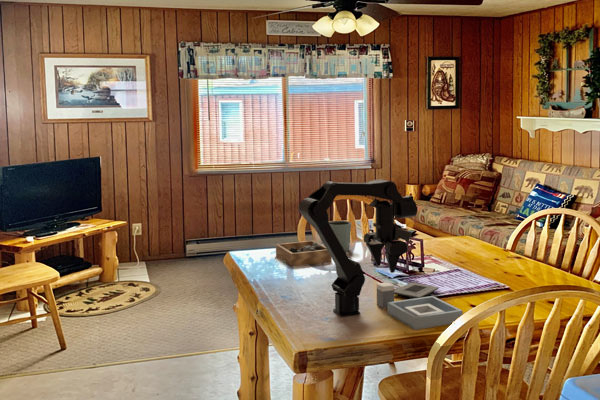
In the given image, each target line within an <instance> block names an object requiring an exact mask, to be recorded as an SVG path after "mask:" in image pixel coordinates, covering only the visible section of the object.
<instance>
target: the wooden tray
mask: <svg viewBox="0 0 600 400" xmlns="http://www.w3.org/2000/svg"><path fill="white" fill-rule="evenodd" d="M314 242H316V243H318V244H319V246H320V248H321V250H317V251H308V252H298V253H292V252H290V251H289V249H291V248H295V249H297V250H299V249H301V248H302V247H304V246H312V244H313V243H314ZM275 257H276V258H279V259H280V260H282V261H283V262H284V263H286V264H287V265H290V266H291V267H296V266H297V267H298V266H306V265H314V264H323V263H331V262H333V259H332V257H331V256H330V254H329V252H328V250H327V249H326V247H325V245H324V244H323V243H322V244H321V243H320V242H317V241H315V240H304V241H295V242H285V243H276V244H275Z"/></svg>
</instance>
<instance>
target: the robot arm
mask: <svg viewBox="0 0 600 400" xmlns="http://www.w3.org/2000/svg"><path fill="white" fill-rule="evenodd" d="M338 196H369V197H373V198H374V199H373V200H372V201H371V202H370V203H369V204H368V206H369V207H370V208H374V209H375V222H373V223H372V225H373V227H374V228H375V231H373V232H366V233H365V234H364V235H363V243H365V246H366V247H367V248H368V251H369V252H370V254H371V256H372V259H373V261H374V263H375V265H376V266H377V267H380V266H381V262H382V253H383V248H384V250H385V251H384V256H385V259H386V263H387V265H388V269H389V271H390V273H392V274H393V273H395V271H396V269H397V265H398V262H399V260H400V257H401V256H402V255H404V254H406V253H407V252H409V244H408V243H409V242H410V240H411V236H412V234H413V232H412V231H408V230H407V229H403V227H402V225H400V224H398V223H395V219H398V220H399V219H406V218H414V217H416V215H417V214H418V206H417V203H416V201H415V200H414V196H413V195H405V196H402V195H401V193H400V191H399V190H398V188H397V185H396V182H394V181H392V180H386V179H381V178H379V179H373V180H370V181H366V182H346V181H345V182H343V181H340V182H338V181H337V182H336V181H335V182H334V181H330V180H329V181H326V182H324V183H323V184H322V185H321V186H320V187H319V188H318V189H316V190H315V191H313V192H312V193H310V195H308V196H307V197H306V198H303V199H302V200H301V201H300V203H299V206H298V211H299V213H300V215H301V216H302V217H303V218H304V220H306V222H307V223H309V225H311V227H312V228H314V231H316V233H317V235H318V236H319V238H320V240H321V242H322V245H324V246H325V247H326V249H327V250H328V252H329V254H330V256H331V258H332V262H334V265H335V272H336V273H335V274H336V275H337V277H336V279H335V280H334V281H333V282H332V284H331V288H332V291H334V292H335V293H334V302H335V303H334V304H335V305H334V308H333V309H332V310H333V312H334V313H336V314H337V315H339V316H340V317H347V316H353V315H360V314H361V311H360V297H359V296H360V295H361V292H362V288H363V286H364V284H365V282H366V277H365V274H366V272H364V270H363V268H362V266H361V263H360V262H357V261H355V260H354V259H350V258H349V256H348V254H347V252H345V251H344V249H343V247H342V245H341V244H340V242H339V240H338V238H337V237H336V235H335V233H334V231H333V229H332V228H331V226H330V224H329V222H330V221H329V213H328V211H327V210H328V209H330V208H331V206H332V204H333V202H334V200H335V198H337V197H338ZM377 198H378V199H377ZM380 199H382V200H380ZM389 201H391V202H389ZM407 242H408V243H407Z"/></svg>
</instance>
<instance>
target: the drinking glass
mask: <svg viewBox="0 0 600 400" xmlns="http://www.w3.org/2000/svg"><path fill="white" fill-rule="evenodd" d="M329 224H330V226H331V228H332V229H333V231H334V233H335V235H336V237H337V238H338V240H339V242H340V244H341V245H342V247H343V249H344V251H345V253H347V252H349V251H350V249H351V248H350V246H351V245H350V243H351V230H352V222H351V221H347V220H331V221H329Z"/></svg>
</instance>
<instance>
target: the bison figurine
mask: <svg viewBox="0 0 600 400" xmlns="http://www.w3.org/2000/svg"><path fill="white" fill-rule="evenodd" d="M316 242H317V241H316ZM316 242H314V243H313V244H312V246H304V247H302V248H301V249H299V250H297V249H295V248H291V249H289V251H290V252H292V253H298V252H308V251H317V250H321V248H320V246H319V244H318V243H319V242H318V243H316Z"/></svg>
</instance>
